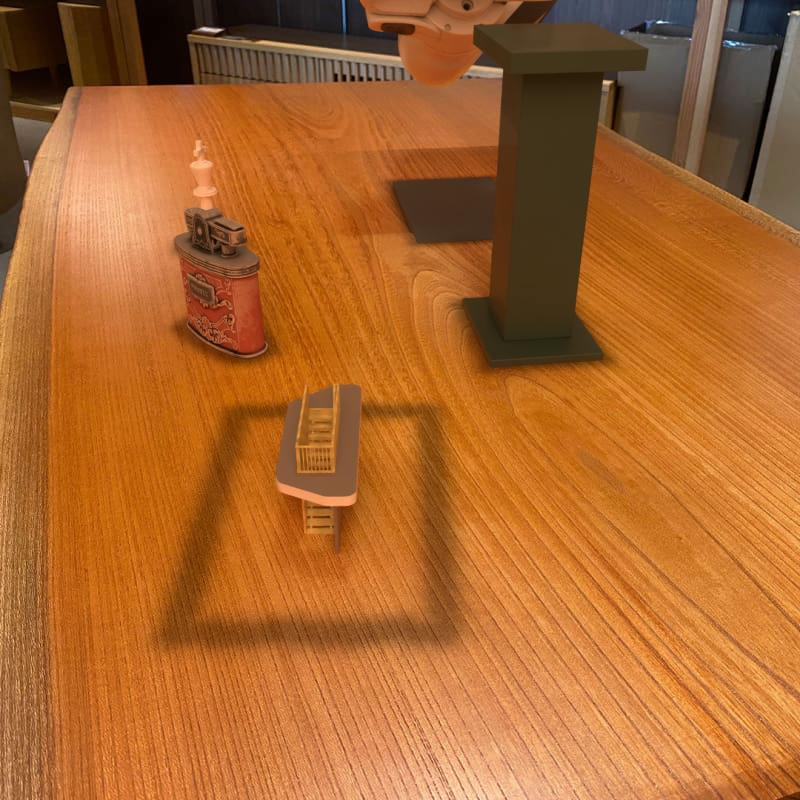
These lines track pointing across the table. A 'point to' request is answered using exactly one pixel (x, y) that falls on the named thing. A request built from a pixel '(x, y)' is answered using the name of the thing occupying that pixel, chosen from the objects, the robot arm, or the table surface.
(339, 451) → the platform
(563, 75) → the stand
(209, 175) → the chess piece
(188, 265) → the lighter
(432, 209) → the mat
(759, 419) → the table surface
